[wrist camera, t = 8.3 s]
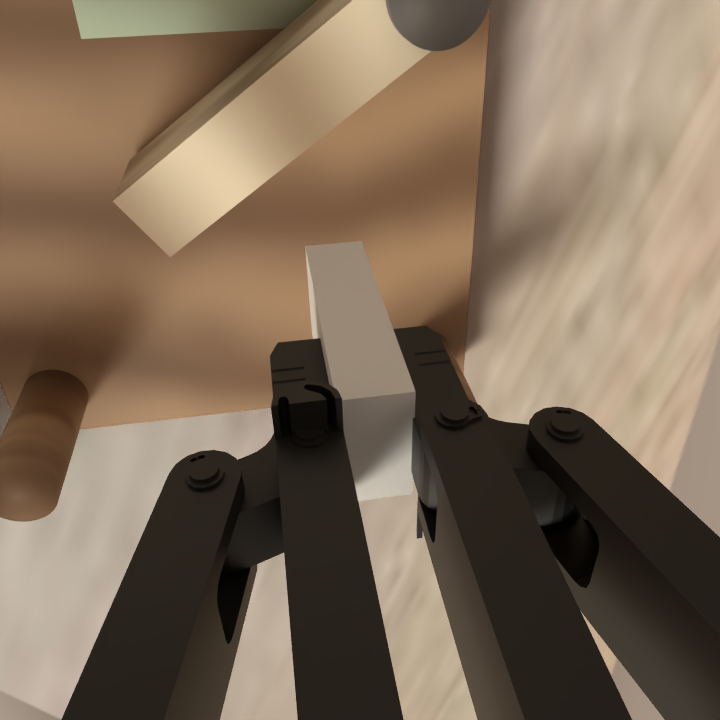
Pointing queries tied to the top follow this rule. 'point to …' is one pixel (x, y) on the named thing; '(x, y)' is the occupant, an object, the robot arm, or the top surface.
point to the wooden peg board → (216, 243)
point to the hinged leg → (281, 107)
